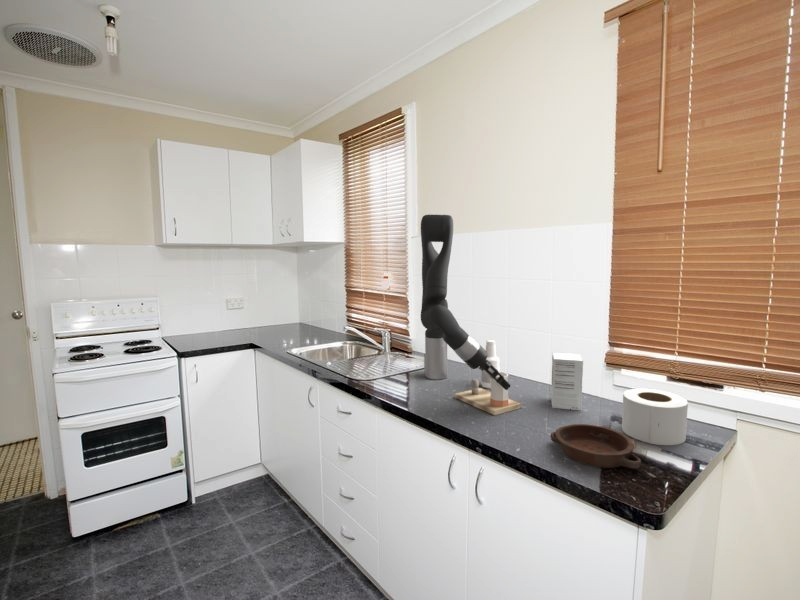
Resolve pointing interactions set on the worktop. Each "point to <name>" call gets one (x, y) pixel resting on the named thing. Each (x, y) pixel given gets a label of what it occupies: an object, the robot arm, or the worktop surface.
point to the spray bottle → (492, 359)
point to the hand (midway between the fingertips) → (503, 383)
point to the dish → (596, 446)
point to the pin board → (484, 400)
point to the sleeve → (499, 392)
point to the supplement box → (566, 381)
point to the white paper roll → (654, 416)
